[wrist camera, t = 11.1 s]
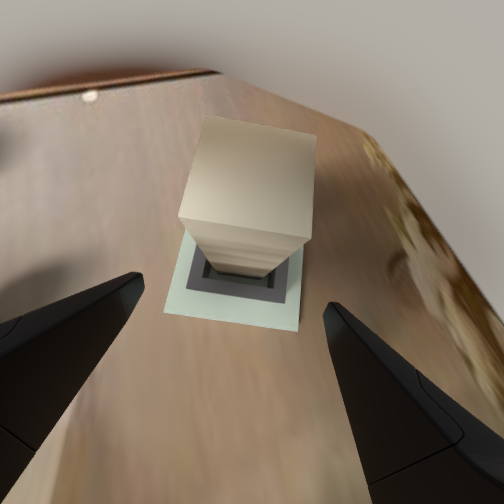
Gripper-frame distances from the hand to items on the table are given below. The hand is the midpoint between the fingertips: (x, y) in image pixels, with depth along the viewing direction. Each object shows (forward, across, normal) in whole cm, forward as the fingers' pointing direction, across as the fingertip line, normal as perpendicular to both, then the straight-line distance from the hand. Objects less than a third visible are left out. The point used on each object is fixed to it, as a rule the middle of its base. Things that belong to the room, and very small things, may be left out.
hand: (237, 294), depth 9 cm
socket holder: (+9, 0, +4) cm, 10 cm away
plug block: (+8, 0, +3) cm, 9 cm away
